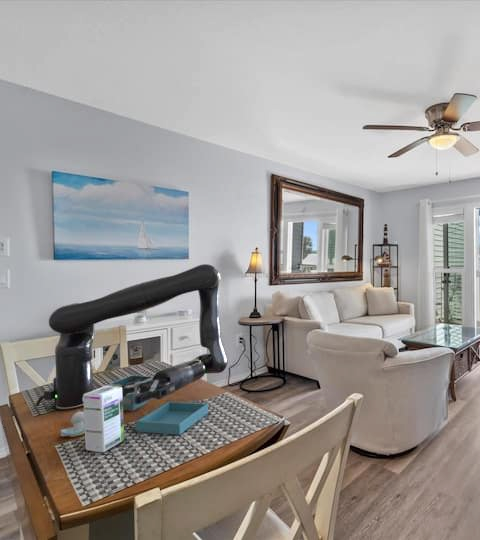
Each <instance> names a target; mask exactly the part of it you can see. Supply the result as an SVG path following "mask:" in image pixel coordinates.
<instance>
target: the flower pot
mask: <svg viewBox="0 0 480 540" xmlns="http://www.w3.org/2000/svg"><path fill="white" fill-rule="evenodd" d="M153 377H154V376H151V375H135V374H132V375H128V376H126V377H123V378H120V379H117V380H115V381H112V382H111V383H108V386H119V387H122V385H123V384H126V383H129V382H132V381H135V380H138V379H143V381H146V380H148V379H153ZM129 389H130V388H129ZM137 390H138V392H140V389H137ZM131 392H132V391H131ZM135 396H136V395H134V394H131V395H127V396H124V397H122V398H123V411H129V412H133V411H135V410H137V409H139V408H141V407H143V406H145V405H146V404H147V402H148V400H146V401H144V402H142V403H140V404H135V401H134V398H135Z"/></svg>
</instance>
